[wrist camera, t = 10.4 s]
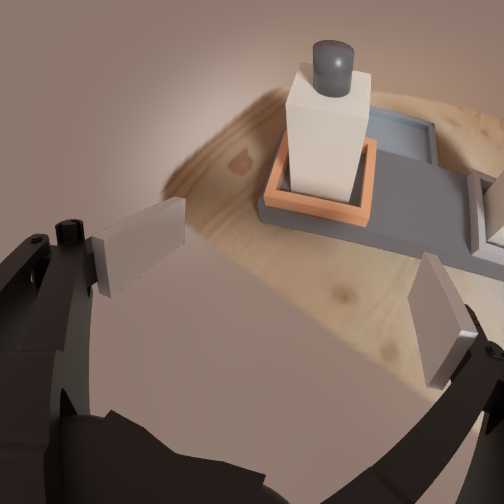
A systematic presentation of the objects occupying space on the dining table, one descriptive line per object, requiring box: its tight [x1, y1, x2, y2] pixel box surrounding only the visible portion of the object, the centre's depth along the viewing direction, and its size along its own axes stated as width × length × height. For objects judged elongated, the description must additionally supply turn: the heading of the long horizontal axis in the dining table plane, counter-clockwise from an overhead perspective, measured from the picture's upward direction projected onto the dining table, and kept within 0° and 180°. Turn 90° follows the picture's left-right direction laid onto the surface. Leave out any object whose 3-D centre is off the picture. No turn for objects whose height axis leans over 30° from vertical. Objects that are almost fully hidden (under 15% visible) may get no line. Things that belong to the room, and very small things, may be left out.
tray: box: [365, 106, 439, 167], centre depth 29 cm, size 12×8×1 cm, turn 73°
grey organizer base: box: [257, 127, 504, 282], centre depth 24 cm, size 29×9×4 cm, turn 73°
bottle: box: [285, 40, 371, 204], centre depth 20 cm, size 5×5×13 cm
